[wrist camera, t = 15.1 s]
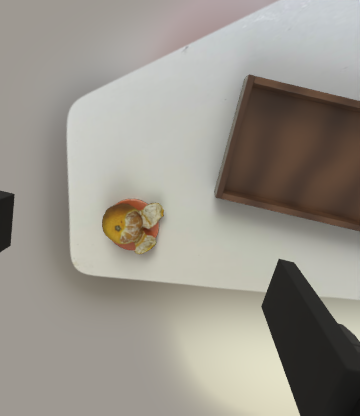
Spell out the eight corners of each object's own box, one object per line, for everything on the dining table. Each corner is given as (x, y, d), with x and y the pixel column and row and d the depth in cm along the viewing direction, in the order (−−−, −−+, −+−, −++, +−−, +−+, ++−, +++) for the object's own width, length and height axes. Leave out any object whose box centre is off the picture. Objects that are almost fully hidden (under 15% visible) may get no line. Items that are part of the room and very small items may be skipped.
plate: (103, 241, 46) (101, 243, 45) (111, 193, 43) (109, 194, 43) (153, 253, 46) (152, 255, 45) (163, 205, 43) (163, 206, 43)
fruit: (152, 254, 45) (148, 265, 41) (99, 240, 45) (91, 249, 41) (166, 204, 43) (163, 211, 39) (111, 189, 42) (103, 194, 39)
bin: (214, 192, 42) (215, 197, 39) (244, 78, 38) (248, 74, 35) (377, 230, 43) (392, 238, 40) (425, 122, 38) (446, 121, 35)
